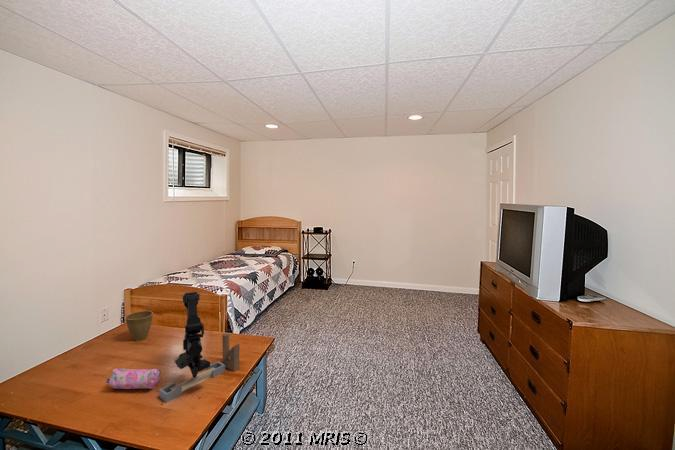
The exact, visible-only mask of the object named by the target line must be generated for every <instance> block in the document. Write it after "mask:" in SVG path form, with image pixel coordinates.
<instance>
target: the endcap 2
mask: <svg viewBox="0 0 675 450" xmlns="http://www.w3.org/2000/svg"><path fill="white" fill-rule="evenodd" d="M213 367H214V368H215V369H214V370H212V377H211V378H215V377H218V376H219V375H221V374H222V373H224V372H226V367H225V365H224V364H222V363H221V361H219V360H217V361H216V362H214V363H210V367H208V368H206V369H205V371H206V370H208V369H211V368H213Z"/></svg>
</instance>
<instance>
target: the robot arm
mask: <svg viewBox="0 0 675 450" xmlns="http://www.w3.org/2000/svg"><path fill="white" fill-rule="evenodd" d="M200 297H201V296H200V293H198V292H197V291H192V292H184V294H183V295H182V303H183V305H184V307H185V308H186V324H185V326H184V329H185V330H184V331H185V334H184V336H183V337H184V338H183V340H182V346H183V350H182V351H184V352H182V353H180V355H179V356H178V358H177V359H175V360H174V363H175V365H176V367H177V368H179V369H180V370H183V369H184V368H187V367H189V370H190V372H191V376H192V377H194V378H195V377H196V376H197V375H198V374H199V372H201V371H202V372H203V371H204V370H206V368H208V367H210V365H211V362H210V361H209V360H208V359H206V358H205V359H203V355H202V351H203V347H202V346H203V345H202V342H201V341H202V339H201V338H204V335H205V327H204V323H203V322H202V321H201V317H199V315H198V307H197V306H198V304H199V301H200V300H201V299H200Z"/></svg>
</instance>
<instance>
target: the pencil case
mask: <svg viewBox="0 0 675 450" xmlns="http://www.w3.org/2000/svg"><path fill="white" fill-rule="evenodd" d="M111 372H112V374H111V375H110V377H109V378H106V382H105V384H107V385H108V387H109V388H110V389H114V390H115V389H119V390H120V389H121V390H122V389H124V390H134V389H135V390H136V389H142V390H143V389H150V390H151V389H155V387H156V386H157V385H158V383H159V381H160V378H161V373H162V372H161V369H159V368H151V369H142V368H141V369H132V368H131V369H128V368H119V367H118V368H114V369H113V370H111Z"/></svg>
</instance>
